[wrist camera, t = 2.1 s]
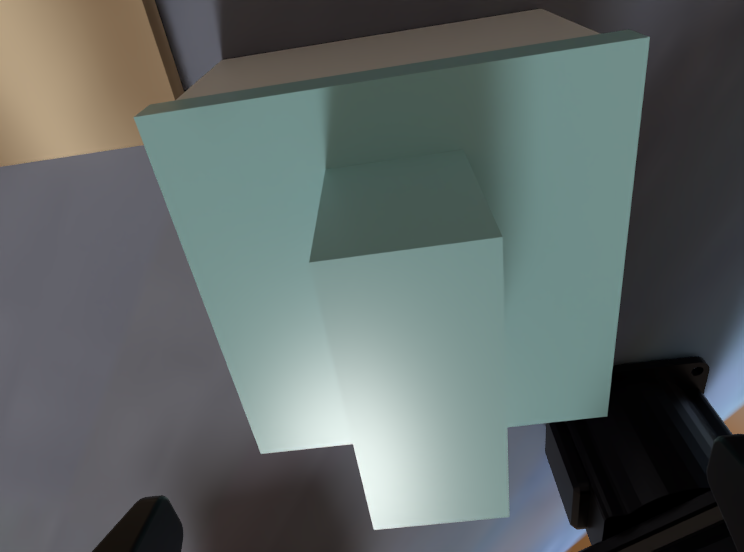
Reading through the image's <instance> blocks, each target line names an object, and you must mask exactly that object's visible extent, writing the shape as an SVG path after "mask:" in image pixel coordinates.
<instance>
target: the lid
mask: <svg viewBox="0 0 744 552" xmlns="http://www.w3.org/2000/svg"><path fill="white" fill-rule="evenodd" d="M649 41H650V37H649V36H646V35H643V34H640V33H637V32H635V31H632V30H629V29H628V30H622V31H616V32H609V33H603V34H596V35H590V36H584V37H577V38H571V39H565V40H558V41H552V42H545V43H539V44H533V45H526V46H520V47H514V48H507V49H501V50H494V51H488V52H482V53H475V54H469V55H462V56H456V57H450V58H443V59H437V60H431V61H424V62H418V63H411V64H405V65H399V66H392V67H386V68H380V69H373V70H367V71H360V72H354V73H348V74H341V75H335V76H329V77H322V78H316V79H309V80H303V81H297V82H290V83H284V84H278V85H271V86H265V87H258V88H252V89H246V90H239V91H233V92H227V93H220V94H214V95H207V96H201V97H195V98H188V99H182V100H176V101H169V102H163V103H156V104H150V105H149V106H147V107H146V108H145V109H143V110H142V111H141V112H140V113H138V114H137V115H136V116H134V120H135V123H136V125H137V128H138V131H139V133H140V136H141V139H142V141H143V144H144V147H145V149H146V152H147V154H148V157H149V160H150V162H151V165H152V168H153V170H154V173H155V176H156V178H157V181H158V183H159V186H160V189H161V191H162V194H163V197H164V199H165V202H166V205H167V207H168V210H169V213H170V215H171V218H172V220H173V223H174V226H175V228H176V231H177V234H178V236H179V239H180V242H181V244H182V247H183V250H184V252H185V255H186V257H187V260H188V263H189V265H190V268H191V271H192V273H193V276H194V279H195V281H196V284H197V286H198V289H199V292H200V294H201V297H202V300H203V302H204V305H205V308H206V310H207V313H208V316H209V318H210V321H211V323H212V326H213V329H214V331H215V334H216V337H217V339H218V342H219V345H220V347H221V350H222V353H223V355H224V358H225V360H226V363H227V366H228V368H229V371H230V374H231V376H232V379H233V382H234V384H235V387H236V390H237V392H238V395H239V397H240V400H241V403H242V405H243V408H244V411H245V413H246V416H247V419H248V421H249V424H250V426H251V429H252V432H253V434H254V437H255V440H256V442H257V445H258V448H259V450H260V453H261V454H265V453H274V452H283V451H293V450H302V449H311V448H320V447H330V446H339V445H348V444H353V446H354V450H355V454H356V458H357V462H358V467H359V471H360V475H361V479H362V483H363V487H364V491H365V495H366V499H367V504H368V508H369V512H370V516H371V520H372V524H373V528H374V530H378V529H389V528H399V527H409V526H420V525H430V524H440V523H451V522H461V521H471V520H482V519H492V518H502V517H509V481H508V440H507V427H514V426H524V425H533V424H542V423H551V422H561V421H570V420H579V419H588V418H598V417H607V414H608V405H609V397H610V388H611V379H612V370H613V361H614V352H615V343H616V334H617V326H618V317H619V308H620V299H621V290H622V281H623V272H624V263H625V254H626V246H627V237H628V228H629V219H630V210H631V201H632V192H633V183H634V174H635V166H636V157H637V148H638V139H639V130H640V121H641V112H642V103H643V95H644V86H645V77H646V68H647V59H648V50H649Z"/></svg>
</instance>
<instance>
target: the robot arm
mask: <svg viewBox="0 0 744 552" xmlns="http://www.w3.org/2000/svg"><path fill="white" fill-rule="evenodd" d="M694 368H695V369H694ZM708 373H709V366H708V365H707V363H706V362H705V361H704V360H703V358H701V357H696V356H694V357H685V358H677V359H668V360H659V361H651V362H642V363H633V364H624V365H616V366H613V370H612V379H611V388H610V397H609V405H608V414H607V417H598V418H588V419H579V420H570V421H561V422H551V423H546V444H545V453H546V456H547V459H548V462H549V464H550V467H551V470H552V473H553V476H554V479H555V482H556V485H557V488H558V491H559V493H560V496H561V499H562V502H563V505H564V508H565V511H566V514H567V517H568V520H569V522H570V525H572V526H573V527H574V528H575V529H586V531H587V534H588V537H589V539H590V542H591V545H592V546H589V547H587V548H585V549H583V550H581V551H579V552H744V434H734V435H733V434H732V433H731V432H730V430H729V429H728V427H727V426H726V425H725V424H724V422H723V421H722V419H721V418H720V417H719V415H718V414H717V412H716V411H715V410H714V408H713V407H712V406H711V404H710V403H709V402H708V400H707V399H706V397H705V396H704V395H703V394H704V390H705V386H706V382H707V378H708ZM182 542H183V527H182V523H181V521H180V519H179V518H178V516H177V514H176V512H175V510H174V508H173V507H172V505H171V503H170V501H169V500H168V498H167V497H165V496H152V497H145V498H142V499H140V500H139V501H137V502H136V503H135V504H134V505H133V507H132V508H131V509H130V510H129V511H128V512H127V513H126V514H125V515H124V517H123V518H122V519H121V520H120V521H119V522H118V523H117V524H116V525H115V527H114V528H113V529H112V530H111V531H110V532H109V533H108V534H107V535H106V537H105V538H104V539H103V540H102V541H101V542H100V543H99V544H98V545H97V547H96V548H95V549H94V550H93V551H92V552H181V549H182Z"/></svg>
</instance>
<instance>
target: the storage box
mask: <svg viewBox="0 0 744 552" xmlns="http://www.w3.org/2000/svg"><path fill="white" fill-rule="evenodd" d="M596 34H600V33H598V32H595V31H593V30H591V29H588V28H586V27H584V26H581V25H579V24H577V23H574V22H572V21H569V20H567V19H565V18H562V17H560V16H558V15H555V14H553V13H551V12H548V11H546V10H543V9H535V10H529V11H523V12H517V13H511V14H504V15H498V16H492V17H486V18H480V19H473V20H467V21H461V22H455V23H449V24H442V25H436V26H430V27H424V28H418V29H411V30H405V31H399V32H393V33H386V34H380V35H374V36H368V37H362V38H355V39H349V40H343V41H337V42H331V43H324V44H318V45H312V46H306V47H300V48H293V49H287V50H281V51H275V52H269V53H262V54H256V55H250V56H244V57H238V58H231V59H225V60H221V61H220V62H219V63H218V64H217V65H216V66H214V67H213V68H212V69H211V70H210V71H209V72H207V73H206V74H205V75H204V76H203V77H202V78H201V79H199V80H198V81H197V82H196V83H195V84H194V85H192V86H191V87H190V88H189V89H188V90H187V91H185V92H184V93H183V94H182V95H181V96H180V97H179V98H177V99H176V100H182V99H188V98H195V97H201V96H207V95H214V94H220V93H227V92H233V91H239V90H246V89H252V88H258V87H265V86H271V85H278V84H284V83H290V82H297V81H303V80H309V79H316V78H322V77H329V76H335V75H341V74H348V73H354V72H360V71H367V70H373V69H380V68H386V67H392V66H399V65H405V64H411V63H418V62H424V61H431V60H437V59H443V58H450V57H456V56H462V55H469V54H475V53H482V52H488V51H494V50H501V49H507V48H514V47H520V46H526V45H533V44H539V43H545V42H552V41H558V40H565V39H571V38H577V37H584V36H590V35H596ZM176 100H175V101H176Z"/></svg>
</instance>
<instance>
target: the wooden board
mask: <svg viewBox="0 0 744 552" xmlns="http://www.w3.org/2000/svg"><path fill="white" fill-rule="evenodd" d="M183 93H184V90H183V87H182V84H181V81H180V78H179V75H178V71H177V68H176V65H175V62H174V59H173V56H172V53H171V50H170V47H169V43H168V40H167V37H166V34H165V31H164V28H163V25H162V22H161V19H160V15H159V12H158V9H157V6H156V3H155V0H0V167H1V166H8V165H15V164H21V163H28V162H34V161H41V160H48V159H54V158H61V157H67V156H74V155H81V154H87V153H94V152H100V151H107V150H114V149H120V148H127V147H133V146H140V145H144V144H143V141H142V139H141V136H140V133H139V131H138V128H137V125H136V123H135V120H134V116H136V115H137V114H138V113H140V112H141V111H142V110H143V109H145V108H146V107H147V106H149V105H150V104H156V103H163V102H169V101H175V100H176V99H177V98H179V97H180V96H181V95H182V94H183Z"/></svg>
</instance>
